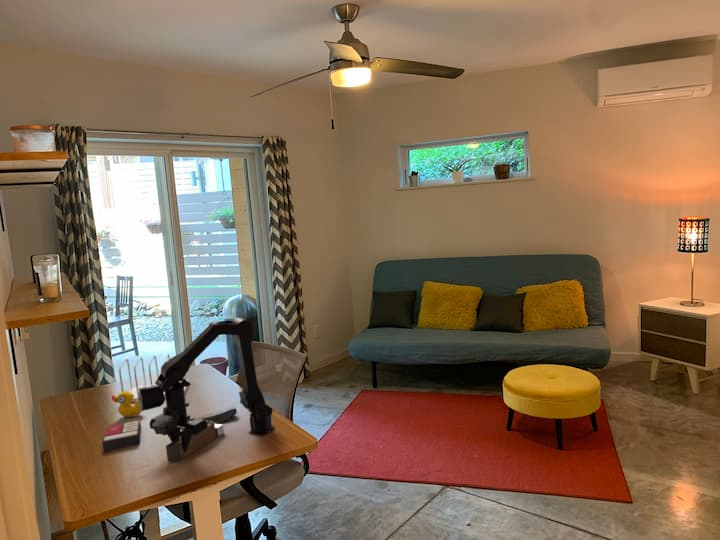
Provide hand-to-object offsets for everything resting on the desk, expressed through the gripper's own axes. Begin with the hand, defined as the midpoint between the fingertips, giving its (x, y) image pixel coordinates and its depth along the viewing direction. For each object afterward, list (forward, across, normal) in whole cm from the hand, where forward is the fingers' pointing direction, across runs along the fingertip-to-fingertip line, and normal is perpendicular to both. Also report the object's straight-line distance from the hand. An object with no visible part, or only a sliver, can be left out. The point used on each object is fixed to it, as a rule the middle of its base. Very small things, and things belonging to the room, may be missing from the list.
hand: (181, 450), depth 165 cm
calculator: (+3, -30, +4) cm, 30 cm away
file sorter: (+2, -55, +43) cm, 70 cm away
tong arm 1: (+2, -1, +5) cm, 5 cm away
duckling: (+2, -45, +20) cm, 49 cm away
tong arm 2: (+2, +1, +5) cm, 5 cm away
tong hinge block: (+2, 0, +16) cm, 16 cm away
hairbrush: (+3, -12, +23) cm, 26 cm away
